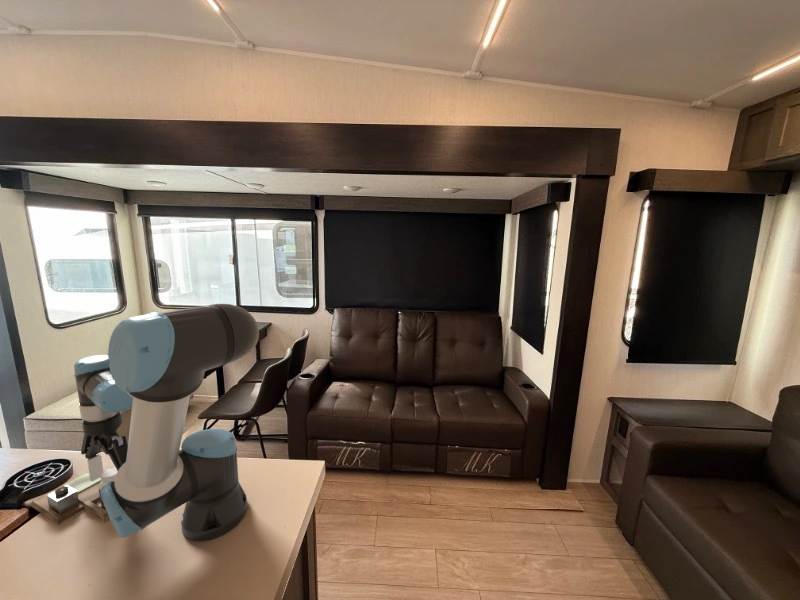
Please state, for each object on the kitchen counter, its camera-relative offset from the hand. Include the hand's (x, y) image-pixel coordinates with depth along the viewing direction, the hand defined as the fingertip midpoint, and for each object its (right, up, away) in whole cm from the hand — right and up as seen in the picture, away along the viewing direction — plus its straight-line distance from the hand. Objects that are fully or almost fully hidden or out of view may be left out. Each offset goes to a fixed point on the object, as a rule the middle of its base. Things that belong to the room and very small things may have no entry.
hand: (111, 486), depth 88 cm
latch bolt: (-11, -4, -2) cm, 12 cm away
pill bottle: (0, -5, +1) cm, 6 cm away
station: (-7, -5, +1) cm, 9 cm away
